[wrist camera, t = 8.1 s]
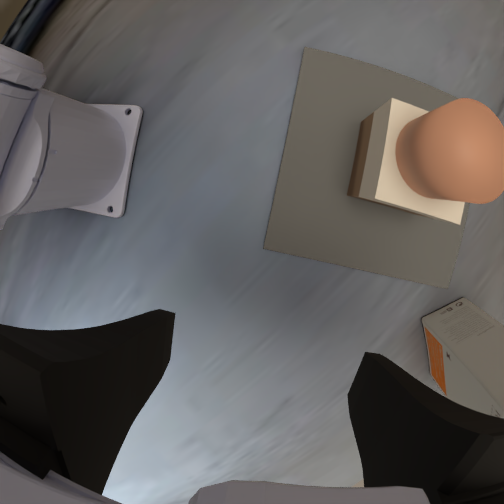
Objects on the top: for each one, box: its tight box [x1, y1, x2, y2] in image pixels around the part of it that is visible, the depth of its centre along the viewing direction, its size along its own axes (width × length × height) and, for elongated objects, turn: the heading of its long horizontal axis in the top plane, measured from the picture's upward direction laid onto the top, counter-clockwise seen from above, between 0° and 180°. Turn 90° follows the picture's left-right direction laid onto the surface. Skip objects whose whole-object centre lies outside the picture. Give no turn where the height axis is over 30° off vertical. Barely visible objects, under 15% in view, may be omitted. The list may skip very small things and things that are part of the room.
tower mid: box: [359, 98, 465, 225], centre depth 14 cm, size 5×5×3 cm
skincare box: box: [422, 298, 504, 419], centre depth 15 cm, size 6×4×12 cm
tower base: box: [347, 112, 430, 218], centre depth 17 cm, size 5×5×3 cm
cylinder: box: [395, 98, 504, 204], centre depth 11 cm, size 4×4×4 cm
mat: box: [263, 47, 470, 289], centre depth 19 cm, size 14×14×1 cm
